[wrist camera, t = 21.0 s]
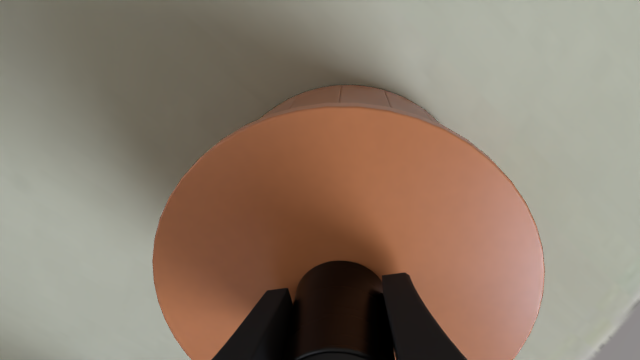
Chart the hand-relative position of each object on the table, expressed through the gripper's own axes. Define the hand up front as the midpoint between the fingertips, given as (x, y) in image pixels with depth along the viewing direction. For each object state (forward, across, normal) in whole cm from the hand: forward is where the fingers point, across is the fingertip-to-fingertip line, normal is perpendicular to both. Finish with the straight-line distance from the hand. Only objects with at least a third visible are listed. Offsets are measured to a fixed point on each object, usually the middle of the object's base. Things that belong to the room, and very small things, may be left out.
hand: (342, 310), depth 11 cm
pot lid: (+1, 0, 0) cm, 1 cm away
